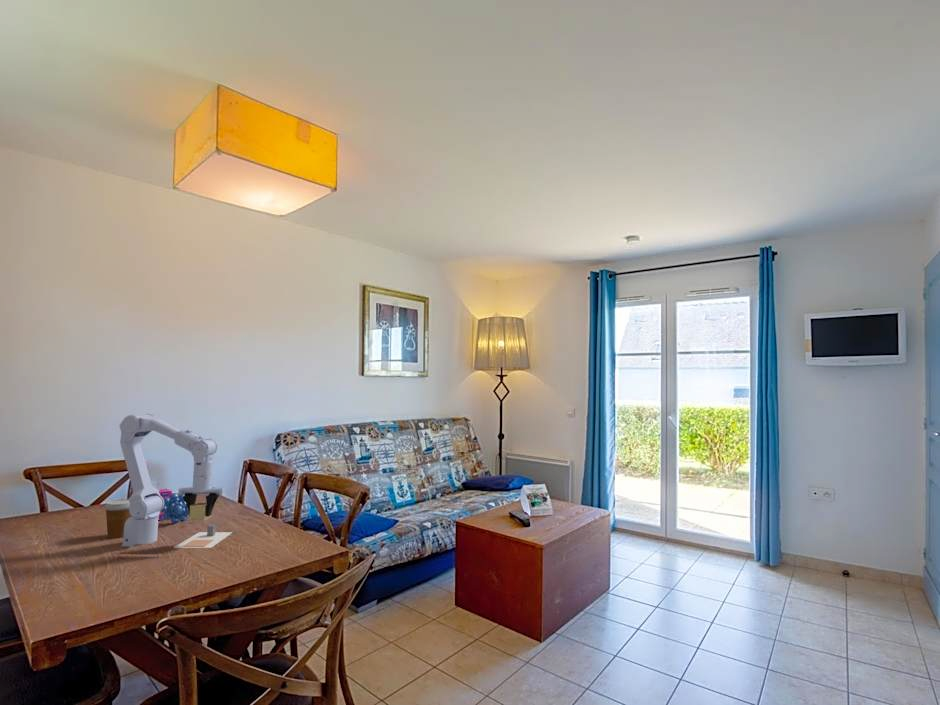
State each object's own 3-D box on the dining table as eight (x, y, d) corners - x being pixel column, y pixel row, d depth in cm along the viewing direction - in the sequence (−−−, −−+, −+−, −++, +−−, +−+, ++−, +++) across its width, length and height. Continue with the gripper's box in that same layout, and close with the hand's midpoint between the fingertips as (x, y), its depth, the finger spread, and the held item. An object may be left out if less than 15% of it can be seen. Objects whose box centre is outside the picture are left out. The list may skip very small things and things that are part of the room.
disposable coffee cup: (95, 537, 177) (98, 503, 178) (121, 530, 186) (123, 497, 187) (115, 540, 174) (118, 505, 175) (140, 533, 183) (143, 500, 184)
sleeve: (189, 520, 169) (190, 505, 169) (196, 516, 174) (197, 502, 174) (204, 520, 169) (205, 505, 170) (211, 517, 174) (212, 502, 175)
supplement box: (154, 521, 199) (156, 492, 200) (148, 519, 203) (150, 490, 204) (170, 519, 204) (172, 490, 205) (164, 516, 207) (166, 488, 208)
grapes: (160, 528, 191) (163, 496, 191) (157, 524, 196) (159, 493, 196) (195, 523, 198) (196, 492, 199) (190, 519, 203) (192, 489, 204)
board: (173, 550, 166) (174, 536, 166) (198, 534, 184) (199, 522, 184) (210, 550, 167) (211, 536, 167) (232, 534, 185) (233, 522, 185)
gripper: (229, 473, 177) (227, 512, 176) (186, 473, 176) (184, 512, 175) (220, 477, 170) (218, 518, 169) (176, 476, 169) (173, 517, 168)
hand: (200, 515), depth 172 cm, fingers closed on sleeve, 5 cm apart
